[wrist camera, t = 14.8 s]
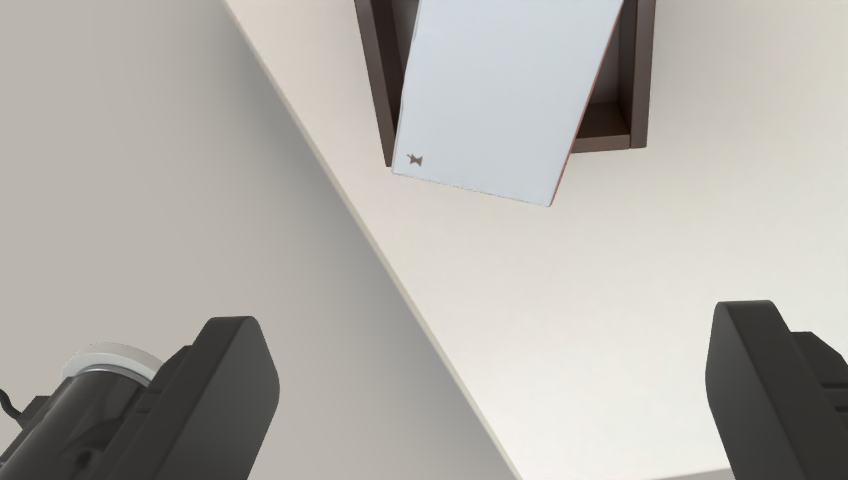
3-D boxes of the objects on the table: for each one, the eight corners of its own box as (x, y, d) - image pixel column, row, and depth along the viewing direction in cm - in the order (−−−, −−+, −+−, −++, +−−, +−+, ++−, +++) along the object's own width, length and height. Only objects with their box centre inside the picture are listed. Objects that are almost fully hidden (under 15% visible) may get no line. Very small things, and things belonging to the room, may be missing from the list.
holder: (401, 128, 36) (385, 167, 32) (357, -126, 29) (330, -120, 25) (629, 108, 34) (646, 148, 30) (641, -173, 27) (667, -175, 23)
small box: (538, 93, 33) (550, 214, 22) (426, 68, 33) (385, 177, 22) (586, -67, 29) (632, -12, 18) (457, -96, 29) (424, -59, 18)
